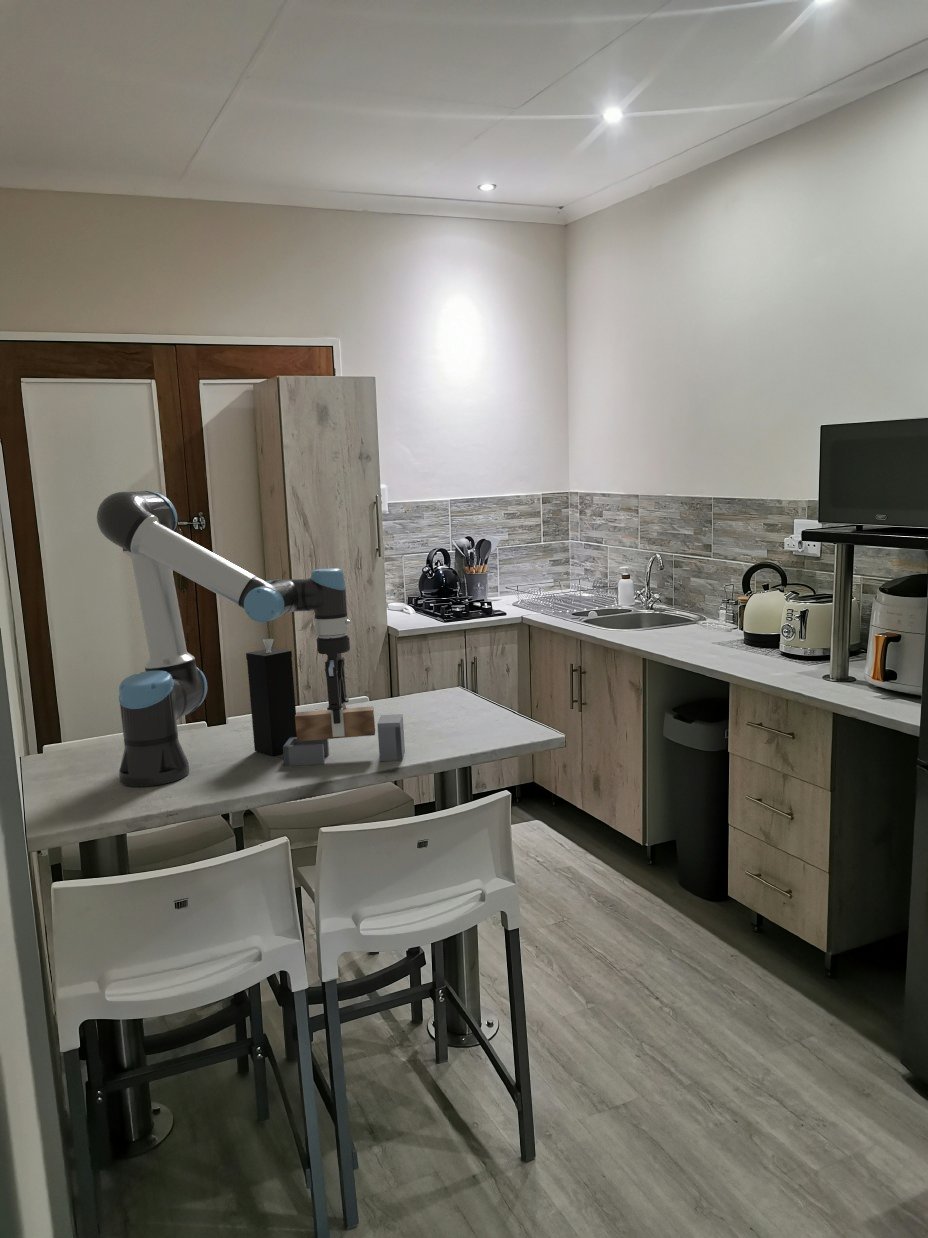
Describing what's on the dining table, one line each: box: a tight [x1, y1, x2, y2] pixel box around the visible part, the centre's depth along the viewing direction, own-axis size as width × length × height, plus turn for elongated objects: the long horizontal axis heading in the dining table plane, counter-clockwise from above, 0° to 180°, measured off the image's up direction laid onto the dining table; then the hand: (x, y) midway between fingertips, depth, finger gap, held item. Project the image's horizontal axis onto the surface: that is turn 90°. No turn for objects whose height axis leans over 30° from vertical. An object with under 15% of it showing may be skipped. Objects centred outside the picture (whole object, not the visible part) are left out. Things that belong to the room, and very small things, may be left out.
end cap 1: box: [282, 737, 330, 767], centre depth 217 cm, size 9×8×4 cm
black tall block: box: [245, 638, 297, 757], centre depth 225 cm, size 8×8×28 cm
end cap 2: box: [376, 713, 406, 762], centre depth 216 cm, size 5×8×9 cm, turn 179°
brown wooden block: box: [295, 705, 376, 741], centre depth 216 cm, size 18×4×6 cm, turn 94°
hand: (340, 733), depth 216 cm, fingers closed on brown wooden block, 4 cm apart
